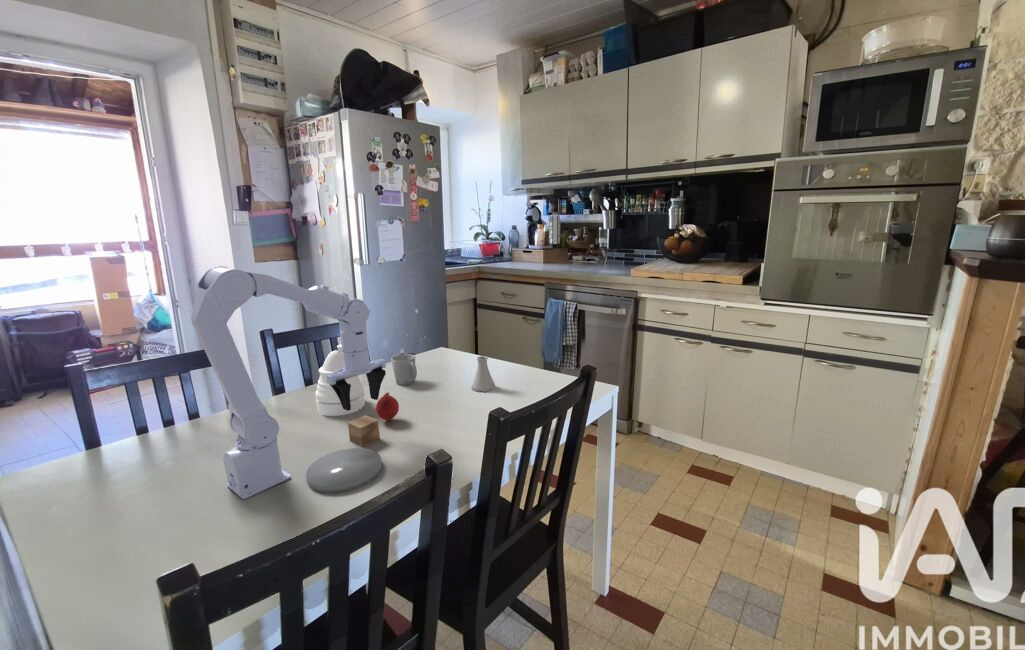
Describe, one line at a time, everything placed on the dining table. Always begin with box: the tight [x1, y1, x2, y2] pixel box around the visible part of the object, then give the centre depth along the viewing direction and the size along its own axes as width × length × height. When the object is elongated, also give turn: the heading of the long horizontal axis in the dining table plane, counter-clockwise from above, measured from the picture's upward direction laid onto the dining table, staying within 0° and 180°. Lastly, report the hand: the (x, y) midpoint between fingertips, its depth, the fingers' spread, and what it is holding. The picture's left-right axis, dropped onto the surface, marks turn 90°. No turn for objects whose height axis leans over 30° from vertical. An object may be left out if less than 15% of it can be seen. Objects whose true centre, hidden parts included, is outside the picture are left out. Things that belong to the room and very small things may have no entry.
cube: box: [347, 414, 381, 448], centre depth 111 cm, size 5×5×5 cm
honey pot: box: [314, 344, 366, 417], centre depth 129 cm, size 13×13×18 cm
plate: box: [305, 447, 383, 494], centre depth 98 cm, size 15×15×2 cm
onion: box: [375, 391, 400, 422], centre depth 121 cm, size 6×6×8 cm
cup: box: [390, 353, 418, 386], centre depth 147 cm, size 8×10×8 cm
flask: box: [470, 355, 496, 393], centre depth 142 cm, size 7×7×10 cm
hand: (361, 403), depth 109 cm, fingers open, 7 cm apart
